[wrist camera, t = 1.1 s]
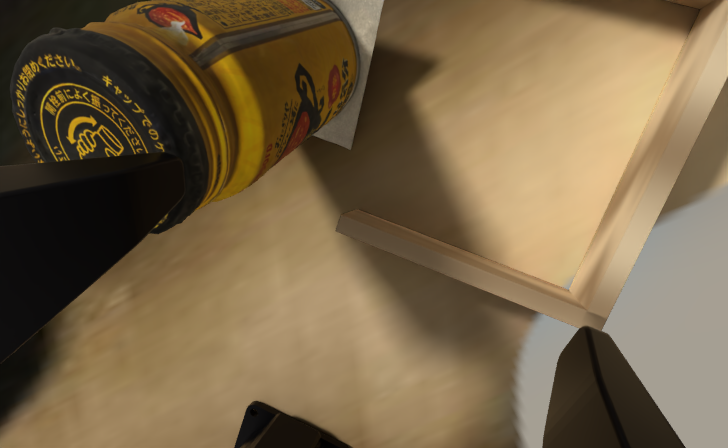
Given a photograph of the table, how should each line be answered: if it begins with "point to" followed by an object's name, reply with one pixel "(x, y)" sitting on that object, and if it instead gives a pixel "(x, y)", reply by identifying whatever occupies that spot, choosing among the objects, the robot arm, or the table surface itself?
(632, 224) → the wooden bracket
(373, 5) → the condiment
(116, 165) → the robot arm
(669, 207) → the table surface
